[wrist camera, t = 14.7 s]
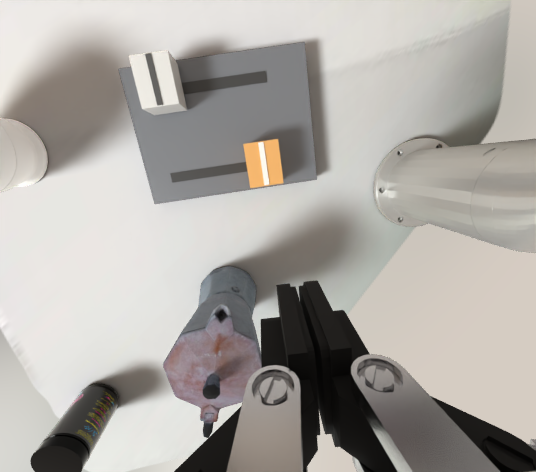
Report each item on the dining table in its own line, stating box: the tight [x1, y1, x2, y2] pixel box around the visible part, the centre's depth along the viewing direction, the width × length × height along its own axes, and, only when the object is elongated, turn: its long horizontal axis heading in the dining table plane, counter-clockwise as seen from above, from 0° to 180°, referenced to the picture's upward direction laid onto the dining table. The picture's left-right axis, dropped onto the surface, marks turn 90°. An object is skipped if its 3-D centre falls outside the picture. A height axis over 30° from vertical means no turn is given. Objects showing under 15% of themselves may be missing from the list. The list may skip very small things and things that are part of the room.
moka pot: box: [163, 266, 262, 438], centre depth 31 cm, size 10×15×20 cm, turn 175°
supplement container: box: [31, 384, 119, 472], centre depth 40 cm, size 7×7×10 cm
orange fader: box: [243, 139, 284, 188], centre depth 31 cm, size 4×5×4 cm
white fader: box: [129, 50, 187, 115], centre depth 28 cm, size 4×5×4 cm
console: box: [118, 42, 317, 204], centre depth 33 cm, size 22×16×3 cm
